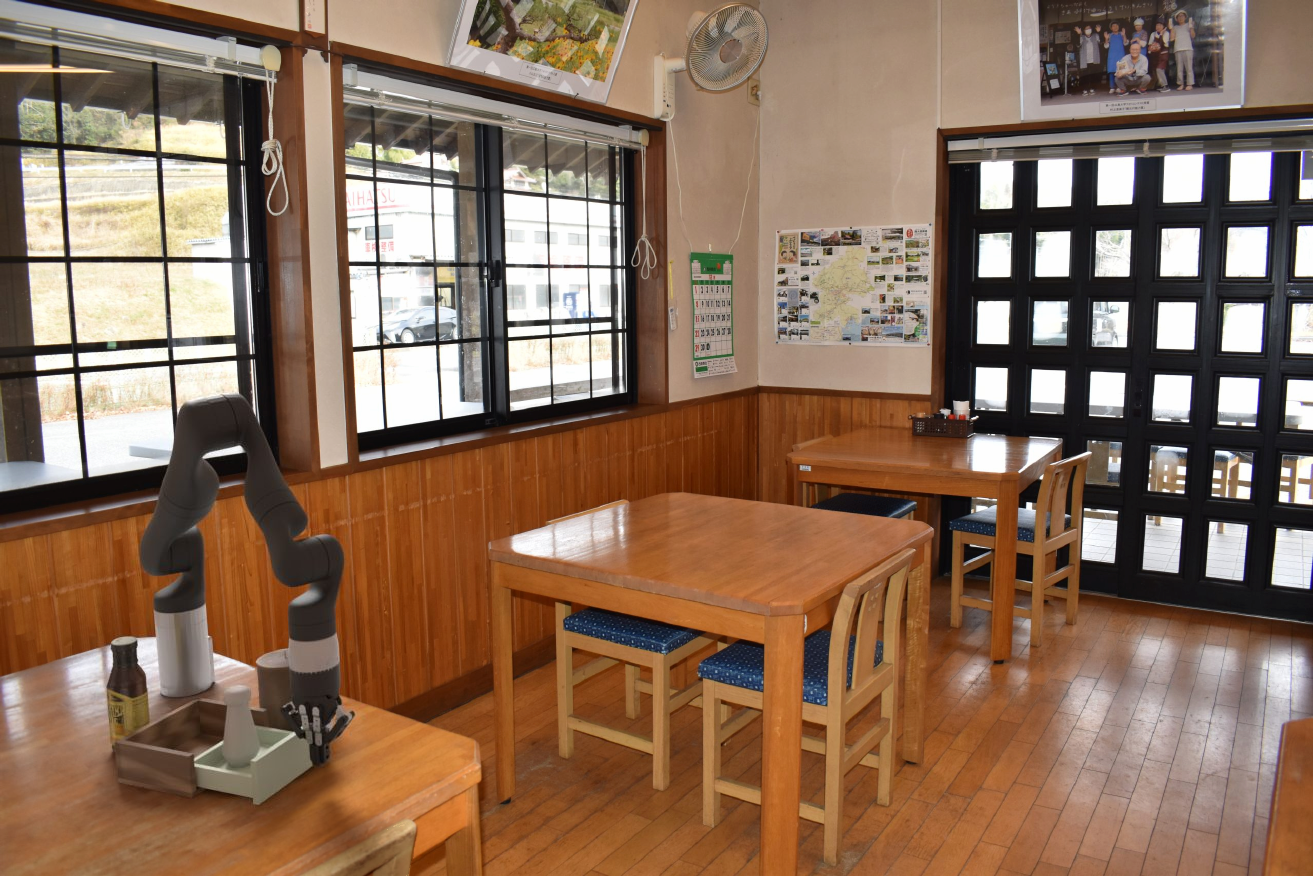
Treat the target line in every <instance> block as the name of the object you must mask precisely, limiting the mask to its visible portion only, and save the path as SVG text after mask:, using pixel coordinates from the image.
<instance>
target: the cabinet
mask: <svg viewBox="0 0 1313 876" xmlns="http://www.w3.org/2000/svg"><path fill="white" fill-rule="evenodd" d="M227 706H228V705H225V704H224V702H223V700H222V701H220V700H215V699H210V698H209V699H208V698H204V697H196V698H194V699H192V700H191V701H189V702H187V703H185V704H183V705H181V706H179V707H178V708H175V709H174V710H172V711H170V712H168V713H166V714H165V715H163V716H161V717H158V719H156V720H154V721H150V723H149V724H148V725H146V726H144V727H142V728H140V729H138V730H136V731H135V732H133V733H131V734H129V735H127V736H125V737H123V738H121V739H120V740H118V741H116V742H114V743H115V752H114V753H115V763H116V774H117V775H116V776H117V783H118V782H119V784H123V783H124V784H125V785H128V784H131V785H130V786H133V785H135V786H134V787H138V786H139V787H138V788H142V787H144V788H143V789H148V790H152V791H157V792H161V793H166V792H167V794H171V793H173V794H172V795H176V794H177V795H176V796H180V795H181V797H186V798H190V799H193V798H194V797H196V796H197V795H199V794H201V793H202V792H204V791H205V790H206V789H207V788H202V787H197V786H196V777H195V764H194V758H195V757H197V756H199V755H200V754H202V753H204V752H205V751H207V750H209V749H210V748H212V747H213V746H215V745H217V744H218V743H220V742H222V741H223V740H224V732H225V723H226V714H227ZM249 707H250V711H251V714H252V718H253V721H254V725H257V726H263V727H268V711H267V709H263V708H260V707H256V706H251V705H249ZM268 728H269V727H268ZM124 784H123V785H124Z"/></svg>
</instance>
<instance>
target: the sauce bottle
mask: <svg viewBox="0 0 1313 876" xmlns="http://www.w3.org/2000/svg"><path fill="white" fill-rule="evenodd" d="M138 646H139V644H138V638H137V637H135V636H122V637H117V638H115V639H113V640H112V641H111V642H110V650H111V652H112V667H111V670H110V673H109V675H108V676H109V677H108V681H107V684H106V686H105V687H106V688H105V689H106V701H107V713H108V715H107V716H108V728H109V741H110V743H111V744H110V745H111V750H112V751H113V752H114V753H115V743H114V742H116V741H118V740H120V739H121V738H123V737H125V736H127V735H129V734H131V733H133V732H135V731H136V730H138V729H140V728H142V727H144V726H146V725H148V724H149V723H151V721H150V706H149V705H150V704H149V691H148V685H147V675H146V673H145V670H144V669H143V668H142V666H140V664H139V658H138Z"/></svg>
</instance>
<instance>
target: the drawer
mask: <svg viewBox="0 0 1313 876" xmlns="http://www.w3.org/2000/svg"><path fill="white" fill-rule="evenodd" d="M301 728H302V729H303V727H301ZM255 729H256V732H257V736H258V739H259V743H260V747H259V751H258V754H257V756H256V757H255V758H254V759H252V760H250V763H251V765H249V766H246V767H243V768H232V767H230V766H229V764H228V762H227V761H226V760H225V758H224V757H223V756H222V748H223V741H222V742H220V743H218V744H217V745H215V746H213V747H212V748H210V749H209V750H207V751H205V752H204V753H202V754H200V755H199V756H197V757H195V758H194V764H195V777H196V786H197V787H202V788H206V789H208V790H213V791H216V792H217V791H218V792H221V793H228V794H232V795H235V796H242V797H245V798H246V797H247V798H251V799H252V804H253V805H256V806H257V805H258V806H259V805H261V804H262V803H264V802H265V801H266V800H268V799H269V798H270V797H273V795H275V794H276V793H277V792H279V791H280V790H282V788H284V787H285V786H287V785H288V784H289V783H291V782H293V781H294V780H295V779H296V778H298V777H299V776H300V775H302V774H303V773H305V772H306V771H308V770H309V769H310V768H311V767H313V766H314V765H312V761H311V760H310V752H309V744H308V743H307V741H306V739H304V738H302V739H299V738H298V737H297V735H296V734H295V732H291V731H285V730H280V729H274V728H268V727H263V726H257V725H255Z"/></svg>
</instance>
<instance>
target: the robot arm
mask: <svg viewBox="0 0 1313 876" xmlns="http://www.w3.org/2000/svg"><path fill="white" fill-rule="evenodd" d="M236 447H241V448H242V450H243V451H244V452H245V454H246V456H247V470H246V475H245V480H244V485H243V487H244V488H243V497H244V501H245V502H244V503H245V505H246V508H247V510H248V512H249V513H250V515H251V517H252V519H253V520H254V521H255V523H256V524H257V526H258V528H259V529H260V530H261V531H260V532H262V534H263V537H264V540H265V544H266V546H267V547H266V548H267V550H268V555H269V560H270V563H271V569H272V573H273V575H274V577H275V578H276V579H277V581H279V582H280V583H281V584H282V585H284V586H285V587H289V588H298V587H302V586H306V585H309V584H310V585H309V587H308V589H307V590H305V592H304V593H302V594H300V595H299V596H297V597H295V598H293V599H292V600H291V601H290V602H289V603H288V608H287V621H288V624H287V625H288V638H289V639H288V654H289V671H290V687H291V692H292V694H293V695H292V701H291V702H290V703H288V704H286V705H284V706H283V707H281V709H280V712H281V713H282V715H283V716H284V718H285V719H286V721H287V722H288V724H289V725H290V727H291V728H292V730H293V731H294V732H295V734H296V735H297V737H298V738H299V739H302V738H304V739H306V741H307V743H308V744H309V752H310V760H311V761H312V765H313V766H315V767H319V768H320V767H323V766H325V764H327V763H328V761H329V760H330V759H331V745H330V744H331V743H333V742H335V740H337V739H338V738H340V736H341V735H342V734H343V732H344V731H345V730H346V729H347V727H348V726H349V725H350V723H351V722H352V721H353V719H354V718H355V716H356V713H355V711H354V710H349V711H348V710H347V709H346V708H345V707H344V706H343V700H342V698H341V695H340V689H341V667H340V666H341V665H340V664H341V663H340V662H341V661H340V647H339V645H340V644H339V640H338V635H337V621H336V620H337V619H336V605H337V604H336V603H337V601H338V596H339V591H340V586H341V584H342V578H343V574H344V570H345V553H344V550H343V549H344V548H343V547H342V545H341V543H340V541H339V540H338V538H336V537H335V536H333V535H331V534H328V533H327V534H325V533H324V534H318V535H313V536H310V537H304V538H300V539H296V538H297V537H299V536H300V535H301V534H303V532H304V531H306V528H307V527H308V523H309V518H308V515H307V513H306V510H304V508H303V506H302V505H301V503H300V502H299V500H298V499H297V497H296V496H295V495H294V494H295V493H294V492H293V491H292V490H291V488H290V487H289V485H288V484H287V482H286V480H285V479H284V477H283V474H282V473H281V471H280V469H279V467H278V464H277V462H276V460H275V457H274V455H273V452H272V449H271V447H270V445H269V441H268V440H267V438H266V435H265V433H264V431H263V429H262V426H261V424H260V422H259V420H258V418H257V416H256V413H255V411H254V409H253V407H252V406H251V405H250V403H249V402H248V400H247V399H246V397H244V396H243V395H242V394H241V393H238V392H234V391H233V392H223V393H219V394H218V393H217V394H212V395H206V396H201V397H196V398H192V399H190V400H187V401H185V402H184V403H183V404H182V405H181V407H180V409H179V411H178V414H177V418H176V422H175V428H174V436H173V444H172V450H171V455H170V458H169V462H168V465H167V468H166V472H165V475H164V477H163V480H162V482H161V486H160V489H159V494H158V498H157V501H156V505H155V509H154V512H153V513H152V516H151V518H150V520H149V522H148V524H147V526H146V528H145V530H144V532H143V534H142V537H141V540H140V544H139V551H138V552H139V553H138V554H139V562H140V565H141V568H142V569H143V571H144V572H145V573H147V574H148V575H149V576H151V577H164V576H170V575H176V574H180V575H179V576H178V577H177V578H176V579H175V580H174V581H173V582H172V583H170V584H169V585H166V586H165V587H163V588H161V589H160V590H157V592H155V594H154V595H153V598H152V599H153V600H152V603H153V617H154V628H155V639H156V641H155V642H156V651H157V663H158V675H159V678H158V679H159V688H160V694H161V695H163V696H165V697H168V698H184V697H189V696H194V695H199V694H200V693H203V692H205V691H207V690H208V689H210V688H211V687H212V684H213V683H214V682H215V681H216V676H215V664H214V663H215V661H214V650H213V649H214V647H213V637H212V636H210V635H209V631H208V620H207V619H208V618H207V607H206V604H207V603H206V575H205V573H206V572H205V569H206V568H205V565H206V564H205V563H206V562H205V558H206V557H205V555H206V554H205V542H204V537H203V534H202V531H201V529H200V528H199V526H197V525H198V524H199V523H201V522H202V521H203V520H204V519H205V518H206V517H207V516H208V515H209V514H210V512H212V509H213V506H214V504H215V502H216V499H217V496H218V494H219V491H220V479H219V475H218V473H217V471H216V470H215V469H214V468H213V466H212V465H211V464H210V463H209V462H208V461H207V460H206V459H204V458H203V457H205V455H207V454H209V453H213V452H217V451H222V450H227V449H232V448H236ZM294 539H296V540H294ZM334 718H335V719H334ZM334 722H335V724H334ZM298 723H300V724H301V726H302V727H303V729H302V728H301V727H300V726H299V724H298Z"/></svg>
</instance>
